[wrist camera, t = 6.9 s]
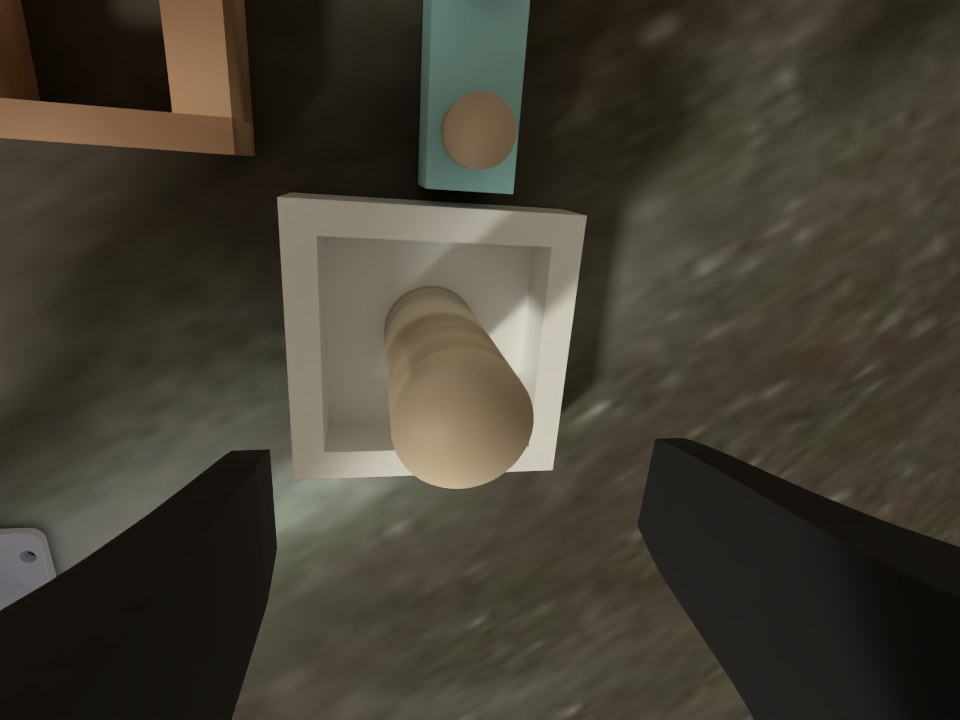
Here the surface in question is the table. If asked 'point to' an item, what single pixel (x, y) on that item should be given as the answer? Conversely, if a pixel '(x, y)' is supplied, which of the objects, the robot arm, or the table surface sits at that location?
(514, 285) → the tray
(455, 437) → the dowel
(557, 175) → the table surface
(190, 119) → the rectangular frame
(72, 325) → the table surface
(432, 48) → the teal peg block
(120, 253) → the table surface
